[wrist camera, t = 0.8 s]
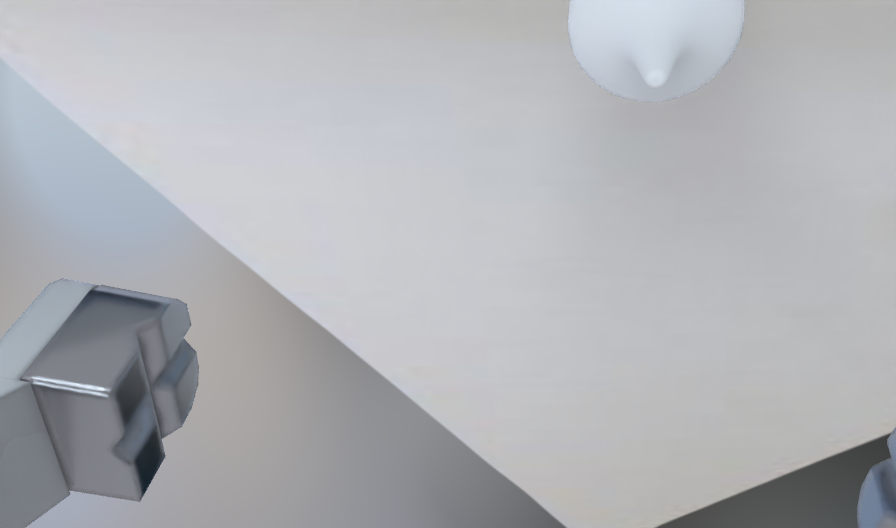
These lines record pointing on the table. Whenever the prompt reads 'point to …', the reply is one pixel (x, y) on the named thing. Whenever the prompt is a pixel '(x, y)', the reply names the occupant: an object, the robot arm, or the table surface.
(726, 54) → the candle
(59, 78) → the table surface
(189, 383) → the robot arm
